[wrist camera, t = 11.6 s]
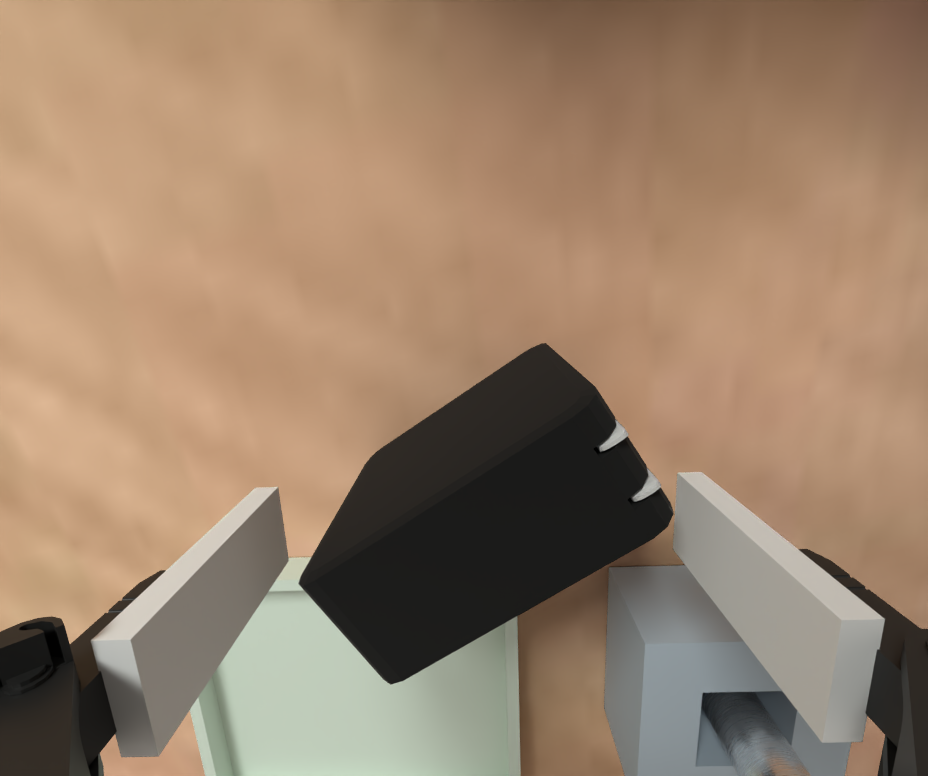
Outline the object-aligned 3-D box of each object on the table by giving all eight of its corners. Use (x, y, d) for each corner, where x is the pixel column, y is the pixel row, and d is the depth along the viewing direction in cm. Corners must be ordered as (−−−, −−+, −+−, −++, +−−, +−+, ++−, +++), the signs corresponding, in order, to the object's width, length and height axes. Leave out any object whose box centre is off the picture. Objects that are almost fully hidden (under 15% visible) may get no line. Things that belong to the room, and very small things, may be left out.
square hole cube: (609, 567, 23) (645, 644, 18) (787, 562, 23) (872, 638, 18) (604, 708, 25) (635, 810, 20) (767, 704, 25) (838, 807, 20)
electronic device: (368, 455, 22) (286, 594, 12) (541, 338, 20) (603, 392, 11) (418, 519, 23) (379, 698, 13) (589, 411, 21) (687, 523, 12)
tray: (183, 560, 24) (160, 583, 22) (513, 551, 23) (516, 573, 21) (231, 783, 27) (215, 817, 25) (518, 778, 27) (521, 814, 25)
